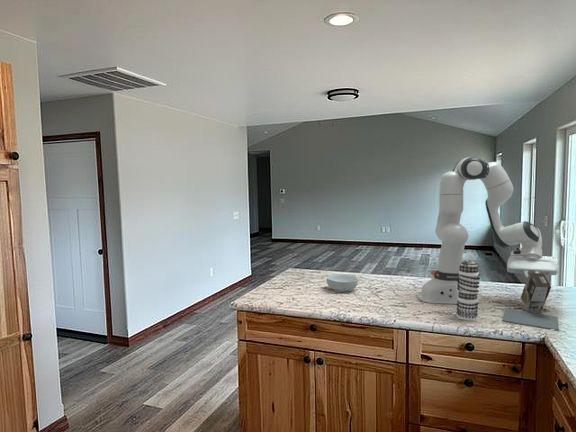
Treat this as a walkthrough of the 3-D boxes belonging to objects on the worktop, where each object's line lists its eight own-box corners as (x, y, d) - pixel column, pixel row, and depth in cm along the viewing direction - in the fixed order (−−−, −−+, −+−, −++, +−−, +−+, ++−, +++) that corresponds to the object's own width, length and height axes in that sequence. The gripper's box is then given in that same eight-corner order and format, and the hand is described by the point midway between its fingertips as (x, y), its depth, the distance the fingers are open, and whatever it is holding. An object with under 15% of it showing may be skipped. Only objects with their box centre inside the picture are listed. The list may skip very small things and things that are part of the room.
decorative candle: (483, 320, 169) (485, 262, 167) (462, 321, 169) (464, 263, 166) (471, 313, 178) (473, 258, 176) (451, 313, 178) (453, 258, 175)
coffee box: (541, 313, 179) (552, 287, 170) (526, 312, 180) (535, 286, 171) (534, 298, 186) (544, 272, 177) (519, 297, 187) (528, 272, 178)
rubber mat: (558, 331, 157) (559, 329, 157) (501, 321, 168) (502, 320, 168) (557, 317, 173) (557, 316, 172) (505, 309, 183) (505, 308, 183)
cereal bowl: (322, 292, 212) (322, 279, 211) (331, 285, 227) (331, 272, 227) (354, 296, 206) (354, 282, 205) (360, 288, 221) (360, 275, 220)
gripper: (557, 261, 185) (558, 286, 178) (507, 259, 196) (506, 282, 188) (558, 253, 181) (559, 278, 174) (507, 251, 192) (506, 274, 184)
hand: (531, 280), depth 181 cm, fingers closed
